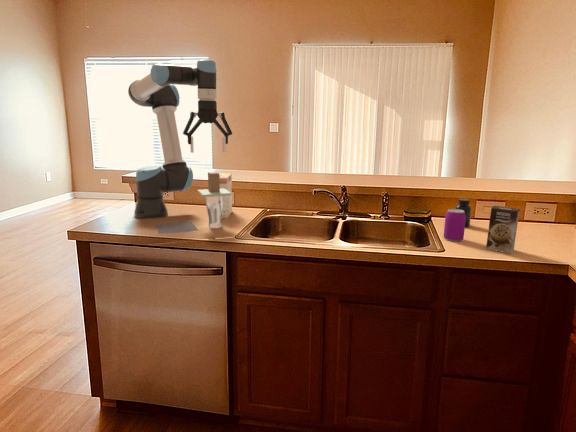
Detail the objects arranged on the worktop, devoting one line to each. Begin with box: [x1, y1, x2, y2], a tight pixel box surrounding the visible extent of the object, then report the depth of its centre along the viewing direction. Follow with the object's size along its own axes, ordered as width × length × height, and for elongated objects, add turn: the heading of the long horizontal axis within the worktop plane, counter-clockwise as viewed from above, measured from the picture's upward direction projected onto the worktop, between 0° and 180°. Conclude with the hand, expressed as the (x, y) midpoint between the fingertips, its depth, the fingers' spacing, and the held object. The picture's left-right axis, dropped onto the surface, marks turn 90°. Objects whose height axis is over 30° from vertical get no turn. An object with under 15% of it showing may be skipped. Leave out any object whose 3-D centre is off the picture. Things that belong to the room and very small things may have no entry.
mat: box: [155, 221, 199, 235], centre depth 189 cm, size 16×16×1 cm
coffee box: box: [485, 205, 521, 254], centre depth 163 cm, size 9×6×16 cm
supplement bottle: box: [454, 198, 472, 228], centre depth 199 cm, size 7×7×12 cm
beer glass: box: [205, 196, 223, 229], centre depth 189 cm, size 7×7×15 cm
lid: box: [196, 171, 231, 198], centre depth 186 cm, size 12×12×9 cm
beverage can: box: [443, 208, 466, 242], centre depth 177 cm, size 8×8×12 cm
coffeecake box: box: [218, 172, 233, 219], centre depth 213 cm, size 15×7×20 cm, turn 178°
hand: (208, 152), depth 185 cm, fingers open, 13 cm apart
